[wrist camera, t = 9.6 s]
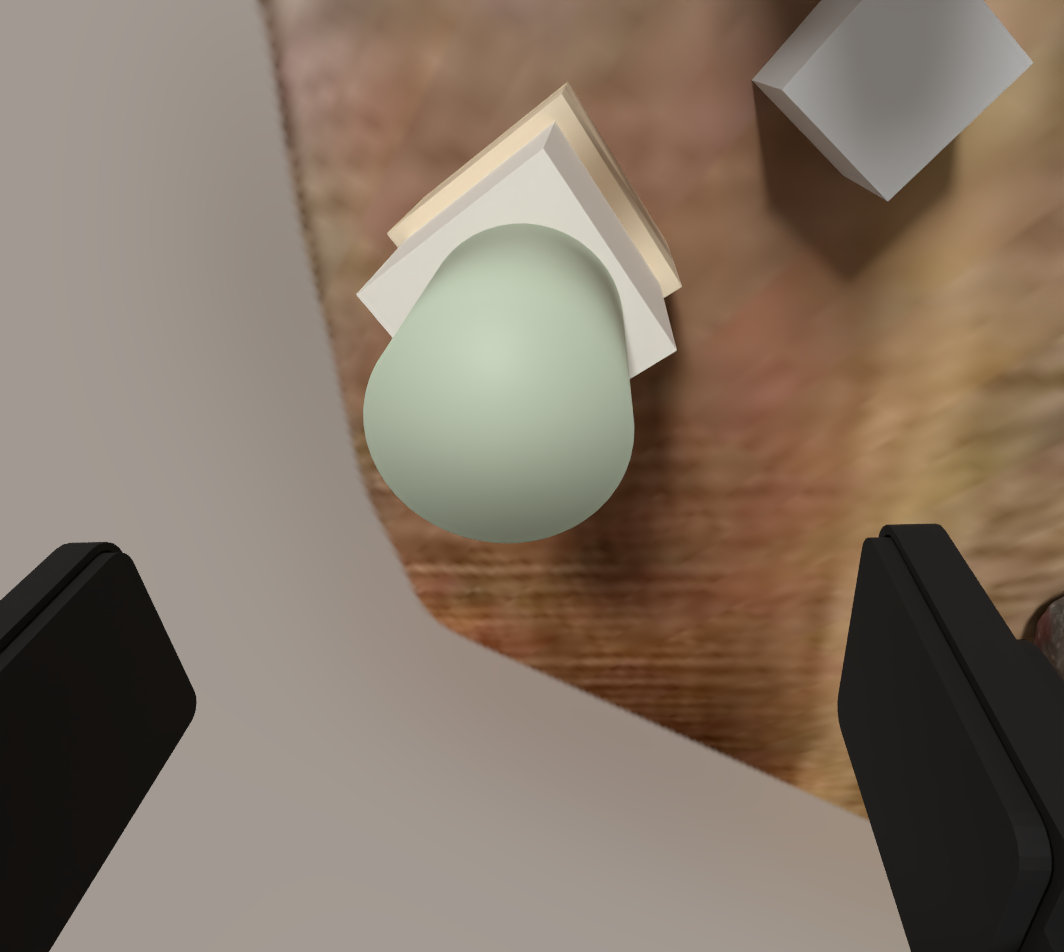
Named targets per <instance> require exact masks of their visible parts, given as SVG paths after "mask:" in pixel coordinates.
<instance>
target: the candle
mask: <svg viewBox="0 0 1064 952" xmlns="http://www.w3.org/2000/svg"><path fill="white" fill-rule="evenodd" d="M1034 644H1035V645H1036V646H1037V647H1038V648H1039V649H1040V650H1041V651H1042V652H1043V654H1044V655H1045V656H1046V657H1047V659H1048V660H1049V662H1050V663H1051V664H1052V666H1053V667H1054V669H1055V670H1056V672H1057V673H1058V675H1059V676H1060V678H1061V679H1062V681H1063V682H1064V596H1063V597H1061V598H1059V599H1058V600H1056V601H1054V602H1053V603H1051V604H1050V605H1049V606H1048V608H1047V610H1046V612H1045V613H1044V614H1043V615H1042V616H1041V618H1040V619H1039V621H1038V623H1037V629H1036V635H1035V640H1034Z"/></svg>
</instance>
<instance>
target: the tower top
mask: <svg viewBox="0 0 1064 952" xmlns="http://www.w3.org/2000/svg"><path fill="white" fill-rule="evenodd" d="M518 223H528V224H536V225H542V226H546V227H550V228H553V229H556V230H558V231H561V232H563V233H566V234H568V235H570V236H571V237H573V238H575V239H576V240H578V241H580V242H581V243H582V244H584V245H585V246H586V247H587V248H589V249H590V250H591V251H592V252H593V253H594V254H595V255H596V256H597V257H598V258H599V259H600V260H601V262H602V263H603V264H604V266H605V267H606V268H607V270H608V271H609V273H610V275H611V277H612V279H613V280H614V282H615V285H616V287H617V290H618V293H619V296H620V300H621V304H622V310H623V320H624V330H625V339H626V349H627V359H628V369H629V378H630V379H631V378H633V377H634V376H636V375H637V374H639V373H641V372H642V371H644V370H646V369H647V368H649V367H651V366H652V365H654V364H655V363H657V362H659V361H660V360H662V359H664V358H665V357H667V356H669V355H670V354H672V353H673V352H675V351H677V349H676V345H675V341H674V337H673V333H672V329H671V325H670V322H669V318H668V314H667V310H666V306H665V302H664V298H663V294H662V290H661V286H660V283H659V281H658V280H657V278H656V276H655V275H654V273H653V272H652V270H651V269H650V267H649V266H648V264H647V262H646V261H645V259H644V258H643V256H642V255H641V253H640V252H639V250H638V249H637V247H636V245H635V244H634V242H633V241H632V239H631V238H630V236H629V235H628V233H627V231H626V230H625V228H624V227H623V225H622V224H621V222H620V221H619V219H618V217H617V216H616V214H615V213H614V211H613V210H612V208H611V207H610V205H609V203H608V202H607V200H606V199H605V197H604V196H603V194H602V193H601V191H600V189H599V188H598V186H597V185H596V183H595V182H594V180H593V179H592V177H591V175H590V174H589V172H588V171H587V169H586V168H585V166H584V165H583V163H582V161H581V160H580V158H579V157H578V155H577V154H576V152H575V151H574V149H573V147H572V146H571V144H570V143H569V141H568V140H567V138H566V137H565V135H564V133H563V132H562V130H561V129H560V127H559V126H558V124H557V123H556V121H554V122H553V123H552V124H550V125H549V126H548V127H547V128H545V129H544V130H543V131H542V132H540V133H539V134H538V135H537V136H535V137H534V138H533V139H532V140H530V141H529V142H528V143H527V144H525V145H524V146H523V147H521V148H520V149H519V150H518V151H516V152H515V153H514V154H513V155H511V156H510V157H509V158H508V159H506V160H505V161H504V162H503V163H501V164H500V165H499V166H498V167H496V168H495V169H494V170H492V171H491V172H490V173H489V174H487V175H486V176H485V177H484V178H482V179H481V180H480V181H479V182H477V183H476V184H475V185H474V186H472V187H471V188H470V189H469V190H467V191H466V192H465V193H463V194H462V195H461V196H460V197H458V198H457V199H456V200H455V201H453V202H452V203H451V204H450V205H448V206H447V207H446V208H445V209H443V210H442V211H441V212H440V213H438V214H437V215H436V216H434V217H433V218H432V219H431V220H429V221H428V222H427V223H426V224H424V225H423V226H422V227H421V228H419V229H418V230H417V231H416V232H414V233H413V234H412V235H411V236H409V237H408V238H407V239H406V240H405V241H404V242H403V243H402V244H401V245H400V247H399V248H398V249H397V250H396V251H395V252H394V253H393V254H392V255H391V256H390V258H389V259H388V260H387V261H386V262H385V263H384V264H383V265H382V266H381V268H380V269H379V270H378V271H377V272H376V273H375V274H374V275H373V276H372V278H371V279H370V280H369V281H368V282H367V283H366V284H365V285H364V286H363V288H362V289H361V290H360V291H359V292H358V293H357V294H356V295H357V296H358V297H359V298H360V300H361V301H362V302H363V303H364V304H365V306H366V307H367V308H368V309H369V310H370V311H371V313H372V314H373V315H374V316H375V317H376V319H377V320H378V321H379V322H380V323H381V324H382V326H383V327H384V328H385V329H386V330H387V332H388V333H389V334H390V335H391V336H392V338H393V337H394V336H395V334H396V332H397V331H398V329H399V328H400V326H401V325H402V323H403V322H404V320H405V319H406V317H407V316H408V314H409V313H410V311H411V310H412V308H413V306H414V305H415V303H416V302H417V300H418V299H419V297H420V296H421V294H422V293H423V291H424V290H425V288H426V287H427V285H428V284H429V282H430V280H431V279H432V277H433V276H434V274H435V273H436V271H437V270H438V268H439V267H440V265H441V264H442V262H443V261H444V260H445V258H446V257H447V256H448V255H449V254H450V253H451V252H452V251H453V250H454V249H455V248H456V247H457V246H458V245H460V244H461V243H462V242H463V241H465V240H467V239H468V238H470V237H471V236H473V235H475V234H477V233H479V232H481V231H484V230H486V229H489V228H493V227H496V226H500V225H506V224H518Z"/></svg>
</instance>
